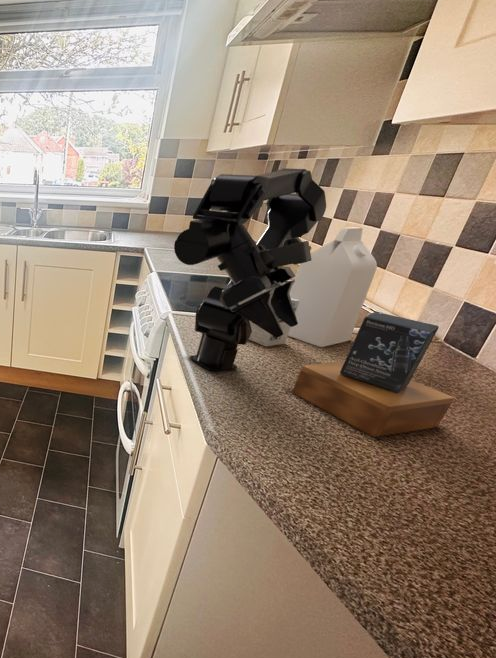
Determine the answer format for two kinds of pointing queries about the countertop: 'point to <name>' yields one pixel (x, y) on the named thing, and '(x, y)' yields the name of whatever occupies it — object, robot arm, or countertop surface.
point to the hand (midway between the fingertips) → (287, 330)
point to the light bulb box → (265, 337)
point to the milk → (332, 289)
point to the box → (388, 350)
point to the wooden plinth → (371, 401)
